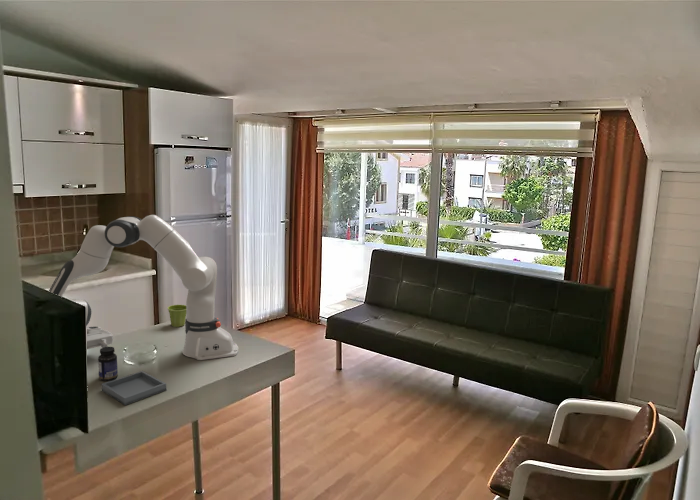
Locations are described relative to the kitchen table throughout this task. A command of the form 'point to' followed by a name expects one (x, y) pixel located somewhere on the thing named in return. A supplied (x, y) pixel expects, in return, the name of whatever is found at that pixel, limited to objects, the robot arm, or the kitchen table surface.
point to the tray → (133, 387)
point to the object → (177, 315)
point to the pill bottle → (107, 364)
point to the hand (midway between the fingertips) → (92, 348)
